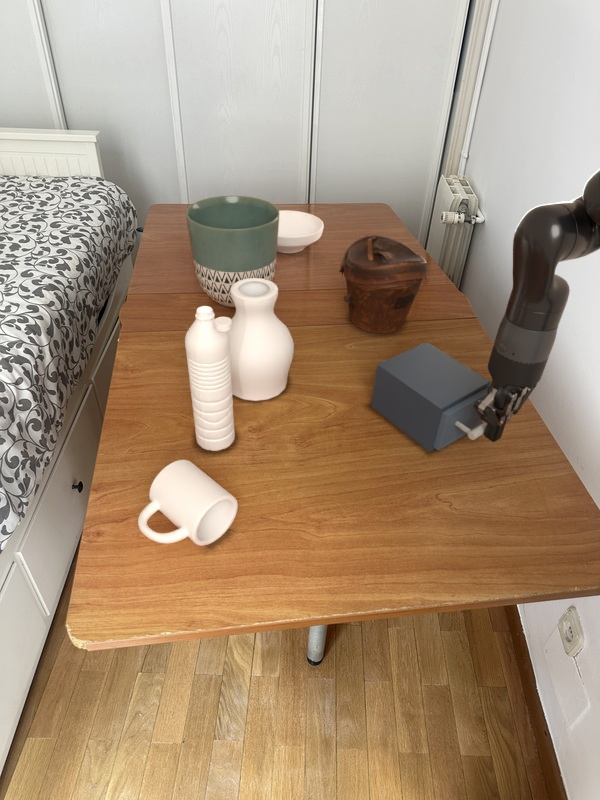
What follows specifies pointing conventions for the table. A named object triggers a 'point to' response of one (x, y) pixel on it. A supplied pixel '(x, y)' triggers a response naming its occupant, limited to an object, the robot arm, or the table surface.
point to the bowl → (297, 230)
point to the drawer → (460, 421)
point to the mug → (188, 505)
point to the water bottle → (210, 379)
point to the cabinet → (422, 390)
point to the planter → (232, 242)
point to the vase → (258, 342)
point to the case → (381, 282)
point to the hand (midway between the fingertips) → (491, 437)
